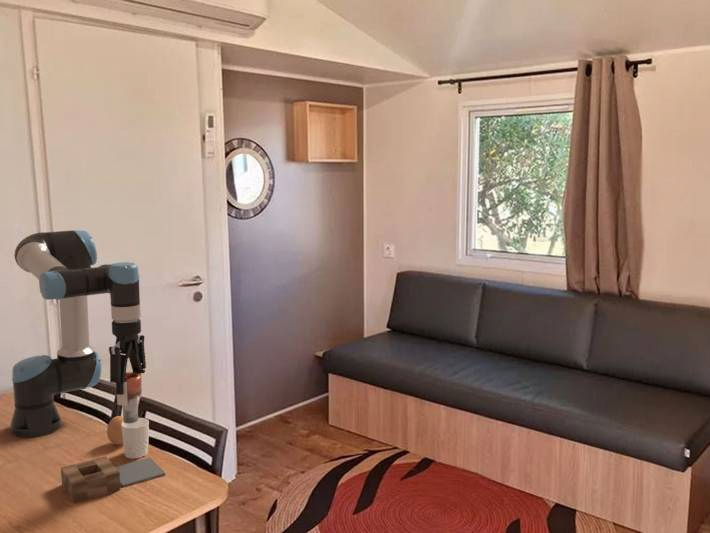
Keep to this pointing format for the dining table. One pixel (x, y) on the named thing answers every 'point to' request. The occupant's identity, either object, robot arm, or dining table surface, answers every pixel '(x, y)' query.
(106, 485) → the eye block
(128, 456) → the white cup
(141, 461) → the mat
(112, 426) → the egg
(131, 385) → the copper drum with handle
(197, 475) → the dining table surface
